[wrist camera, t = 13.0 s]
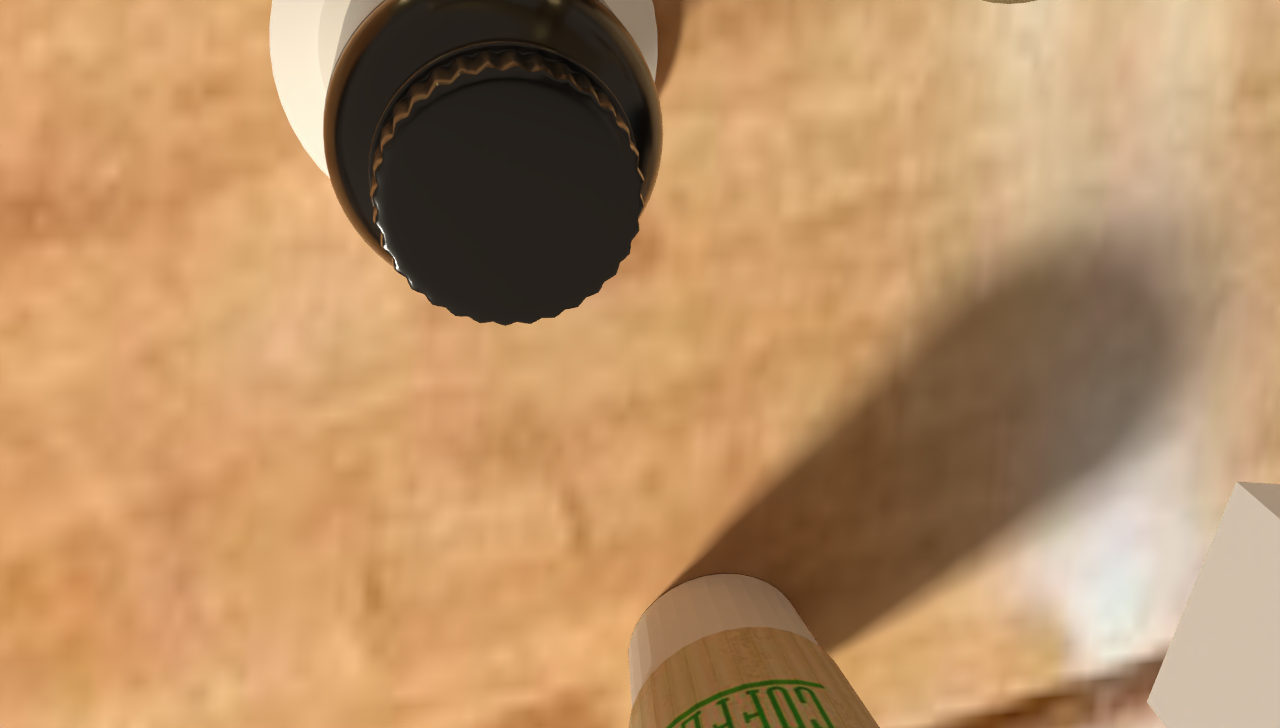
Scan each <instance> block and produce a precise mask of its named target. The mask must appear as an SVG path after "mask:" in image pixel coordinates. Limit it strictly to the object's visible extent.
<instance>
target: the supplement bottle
mask: <svg viewBox="0 0 1280 728" xmlns="http://www.w3.org/2000/svg"><path fill="white" fill-rule="evenodd" d="M323 139H324V153H325V158H326V164H327V169H328V173H329V176H330V180H331V183H332V186H333V189H334V191H335V194H336V196H337V199H338V201H339V203H340V205H341V207H342V209H343V210H344V212H345V214H346V216H347V217H348V219H349V220H350V222H351V223H352V225H353V227H354V228H355V229H356V231H357V232H358V233H359V234H360V236H361V237H362V238H363V239H364V241H365V242H366V243H367V244H368V245H369V246H370V247H371V248H372V249H373V250H374V251H375V252H376V253H377V254H378V255H379V256H380V257H382V258H383V259H384V260H385V261H386V262H388V263H389V264H390V265H392V266H393V267H394V269H395V270H396V271H397V272H398V273H400V274H401V275H403V276H404V277H406V278H407V280H408V283H409V285H410V287H411V289H413V290H415V291H417V292H420V293H423V294H425V296H426V297H427V299H428V300H429V301H430V302H431V303H432V305H436V306H442V307H446V308H447V309H448V310H449V311H450V312H451V313H452V314H454V315H455V316H468V317H470V318H472V319H473V320H475V321H477V322H479V323H486V322H492V321H493V322H496V323H498V324H501V325H505V326H506V325H510V324H512V323H515V322H521V323H528V324H531V323H533V322H535V321H537V320H539V319H541V318H554V317H556V316H558V315H559V314H560V313H561V312H562V311H564V310H565V309H571V308H575V307H578V306H579V305H580V304H581V303H582V302H583V300H584V299H585V298H586V297H588V296H591V295H594V294H596V293H598V292H599V291H600V289H601V288H602V285H603V283H604V282H605V281H606V280H608V279H610V278H611V277H613V276H614V275H616V273H617V270H618V267H619V264H620V262H621V261H622V260H624V259H625V258H626V257H627V256H628V255H629V254H630V249H631V241H632V240H633V238H634V237H635V236H636V234H637V233H638V231H639V221H638V220H639V218H640V216H641V214H642V213H643V211H644V209H645V207H646V205H647V203H648V201H649V198H650V196H651V194H652V191H653V188H654V185H655V182H656V179H657V175H658V171H659V167H660V160H661V154H662V141H663V126H662V114H661V107H660V101H659V97H658V93H657V89H656V86H655V83H654V80H653V77H652V75H651V72H650V69H649V67H648V65H647V63H646V61H645V59H644V57H643V55H642V53H641V51H640V49H639V47H638V46H637V44H636V42H635V41H634V39H633V37H632V36H631V35H630V33H629V32H628V31H627V29H626V28H625V27H624V25H623V24H622V23H621V21H620V20H619V19H618V18H617V16H616V15H615V14H614V13H613V11H612V10H611V9H610V7H609V6H608V5H607V4H606V2H605V1H604V0H351V1H350V4H349V6H348V9H347V12H346V15H345V18H344V21H343V26H342V30H341V34H340V38H339V42H338V47H337V51H336V55H335V59H334V64H333V68H332V72H331V76H330V81H329V85H328V89H327V93H326V99H325V107H324V117H323Z"/></svg>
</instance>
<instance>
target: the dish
mask: <svg viewBox="0 0 1280 728" xmlns="http://www.w3.org/2000/svg"><path fill="white" fill-rule="evenodd" d="M350 1H351V0H273V1H272V9H271V17H270V55H271V62H272V69H273V76H274V80H275V83H276V87H277V90H278V94H279V97H280V101H281V104H282V106H283V108H284V111H285V113H286V115H287V118H288V120H289V122H290V125H291V127H292V128H293V130H294V132H295V133H296V135H297V137H298V139H299V140H300V142H301V144H302V145H303V147H304V149H305V150H306V151H307V152H308V154H309V155H310V156H311V158H312V159H313V160H314V161H315V163H316V164H317V165H318V167H319V168H320V169H321V170H322V171H323V172H324V173H325V174H326V175H327V176H328V177H329V178H330V176H329V173H328V169H327V164H326V158H325V153H324V139H323V117H324V107H325V99H326V93H327V89H328V85H329V81H330V76H331V72H332V68H333V64H334V59H335V55H336V51H337V47H338V42H339V38H340V34H341V30H342V26H343V21H344V18H345V15H346V12H347V9H348V6H349V4H350ZM604 1H605V2H606V4H607V5H608V6H609V7H610V9H611V10H612V11H613V13H614V14H615V15H616V16H617V18H618V19H619V20H620V21H621V23H622V24H623V25H624V27H625V28H626V29H627V31H628V32H629V33H630V35H631V36H632V37H633V39H634V41H635V42H636V44H637V46H638V47H639V49H640V51H641V53H642V55H643V57H644V59H645V61H646V63H647V65H648V67H649V69H650V72H651V75H652V77H653V80H654V83H655V77H656V69H657V60H658V32H657V25H656V18H655V11H654V5H653V1H652V0H604Z"/></svg>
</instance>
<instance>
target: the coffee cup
mask: <svg viewBox="0 0 1280 728" xmlns="http://www.w3.org/2000/svg"><path fill="white" fill-rule="evenodd" d="M628 654H629V669H630V684H631V699H632V710H631V717H630V723H629V728H880V727H879V726H878V725H877V723H876V722H875V720H874V719H873V717H872V716H871V714H870V713H869V711H868V710H867V708H866V707H865V705H864V704H863V702H862V701H861V700H860V698H859V697H858V695H857V694H856V692H855V691H854V689H853V688H852V686H851V685H850V683H849V682H848V680H847V679H846V678H845V676H844V675H843V673H842V672H841V670H840V669H839V667H838V666H837V664H836V663H835V661H834V660H833V659H832V658H831V657H830V656H829V655H828V654H827V653H826V652H825V650H824V649H823V648H821V647H820V646H819V645H818V643H817V642H816V640H815V639H814V637H813V636H812V634H811V633H810V631H809V630H808V628H807V627H806V625H805V624H804V622H803V621H802V619H801V618H800V616H799V615H798V613H797V612H796V610H795V609H794V607H793V606H792V604H791V603H790V601H789V600H788V599H787V598H786V597H785V596H784V595H783V594H782V593H781V591H779V590H778V589H776V588H775V587H773V586H772V585H770V584H769V583H767V582H764V581H762V580H759V579H757V578H755V577H750V576H745V575H740V574H715V575H709V576H703V577H699V578H696V579H693V580H690V581H687V582H685V583H683V584H681V585H679V586H677V587H675V588H673V589H671V590H669V591H668V592H667V593H665V594H664V595H662V596H661V597H660V598H658V599H657V600H656V601H655V602H654V603H653V604H652V605H651V606H650V607H649V608H648V609H647V610H646V611H645V613H644V614H643V616H642V617H641V619H640V620H639V622H638V623H637V625H636V627H635V629H634V632H633V634H632V637H631V640H630V646H629V653H628Z"/></svg>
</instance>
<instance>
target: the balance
mask: <svg viewBox="0 0 1280 728" xmlns="http://www.w3.org/2000/svg"><path fill="white" fill-rule="evenodd" d="M984 1H988V2H993V3H1006V4H1012V3H1026V2H1030V1H1035V0H984Z"/></svg>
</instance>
